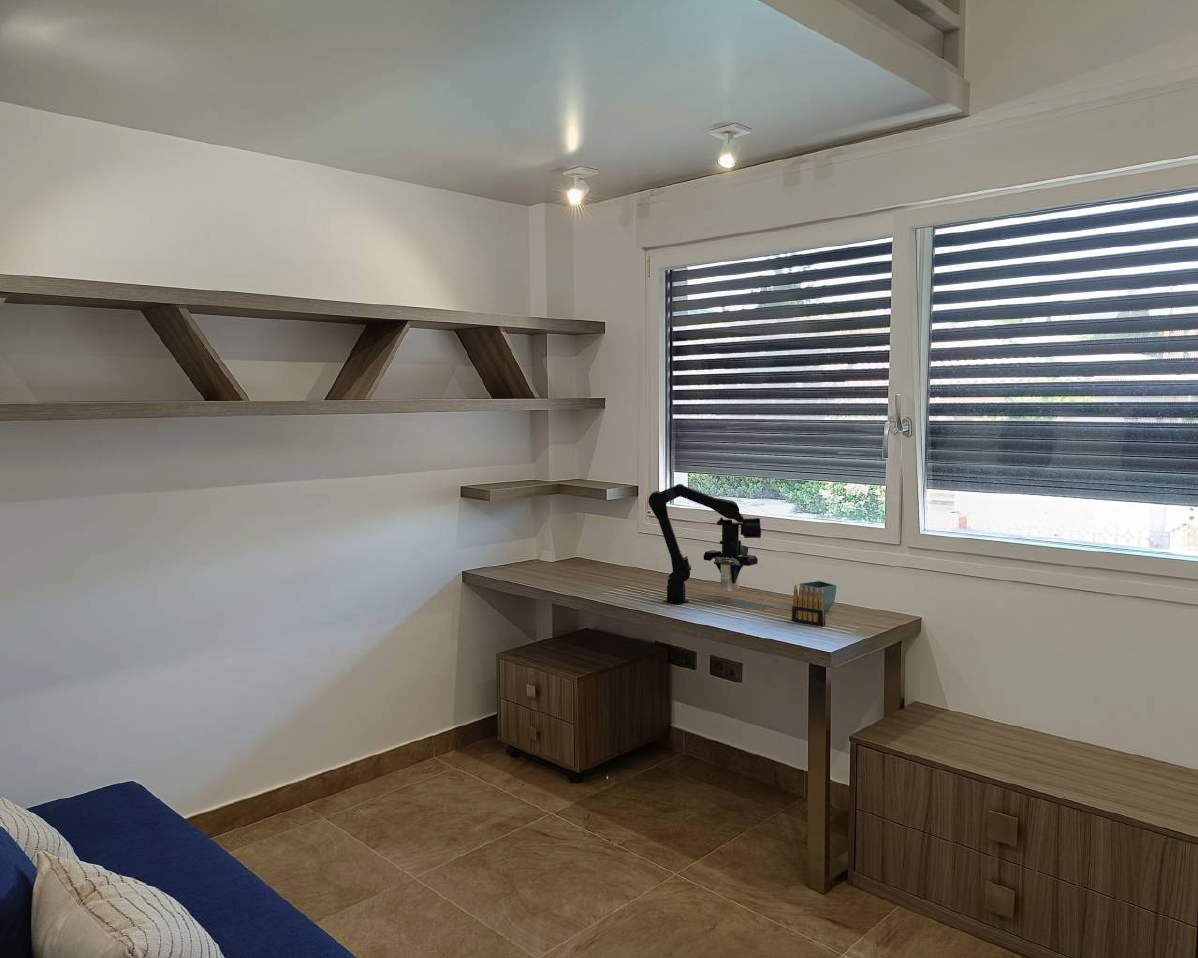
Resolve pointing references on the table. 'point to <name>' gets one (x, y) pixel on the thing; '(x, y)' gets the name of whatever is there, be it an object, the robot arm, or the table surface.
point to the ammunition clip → (808, 607)
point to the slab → (728, 577)
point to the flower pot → (827, 589)
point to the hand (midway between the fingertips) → (730, 582)
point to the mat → (745, 604)
